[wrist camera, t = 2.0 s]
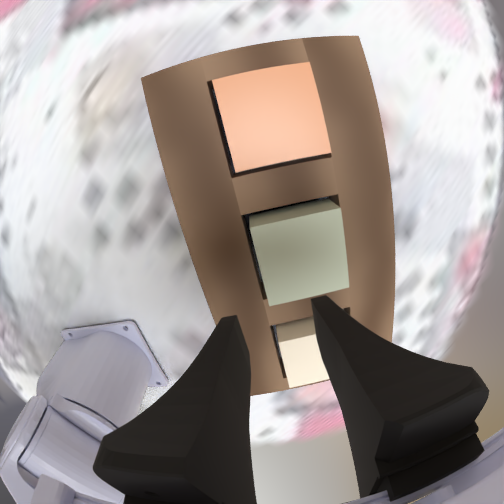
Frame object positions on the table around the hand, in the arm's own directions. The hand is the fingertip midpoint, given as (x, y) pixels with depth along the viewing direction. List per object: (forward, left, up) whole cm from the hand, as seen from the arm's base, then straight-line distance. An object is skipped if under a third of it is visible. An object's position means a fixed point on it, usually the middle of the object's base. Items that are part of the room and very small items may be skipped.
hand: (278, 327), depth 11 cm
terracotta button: (+2, +8, -8) cm, 11 cm away
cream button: (+2, -8, -8) cm, 11 cm away
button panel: (+2, 0, -9) cm, 10 cm away
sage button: (+2, 0, -8) cm, 8 cm away
